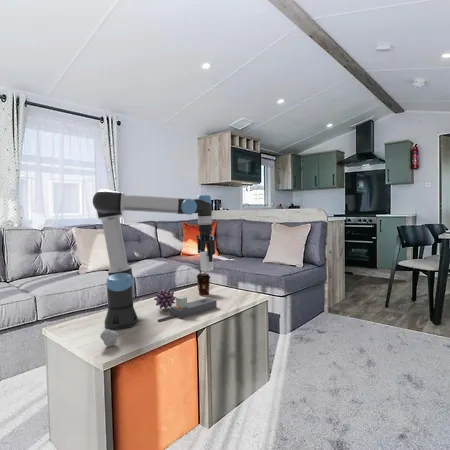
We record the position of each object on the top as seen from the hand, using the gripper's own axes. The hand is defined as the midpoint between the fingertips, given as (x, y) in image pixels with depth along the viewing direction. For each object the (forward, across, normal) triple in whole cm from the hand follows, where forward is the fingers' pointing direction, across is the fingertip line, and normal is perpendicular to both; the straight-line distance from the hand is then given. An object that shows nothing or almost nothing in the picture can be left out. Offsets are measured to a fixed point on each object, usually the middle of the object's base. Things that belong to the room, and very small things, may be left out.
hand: (206, 267), depth 183 cm
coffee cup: (+23, +23, -14) cm, 35 cm away
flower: (+22, +14, +18) cm, 32 cm away
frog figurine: (+22, -11, +60) cm, 65 cm away
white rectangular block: (+3, 0, 0) cm, 3 cm away
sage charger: (+18, 0, +17) cm, 25 cm away
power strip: (+22, 0, +14) cm, 26 cm away
